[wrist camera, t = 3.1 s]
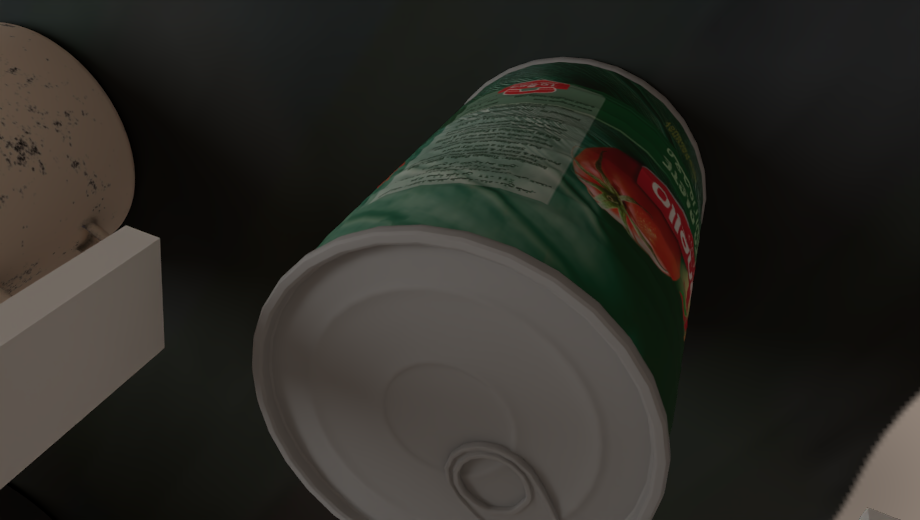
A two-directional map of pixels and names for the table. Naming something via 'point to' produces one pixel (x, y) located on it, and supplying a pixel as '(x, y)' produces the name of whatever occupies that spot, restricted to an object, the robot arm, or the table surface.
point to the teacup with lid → (55, 160)
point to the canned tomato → (498, 312)
